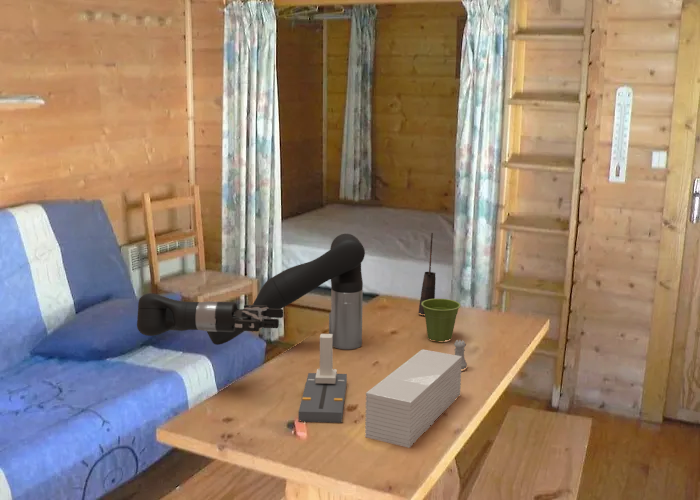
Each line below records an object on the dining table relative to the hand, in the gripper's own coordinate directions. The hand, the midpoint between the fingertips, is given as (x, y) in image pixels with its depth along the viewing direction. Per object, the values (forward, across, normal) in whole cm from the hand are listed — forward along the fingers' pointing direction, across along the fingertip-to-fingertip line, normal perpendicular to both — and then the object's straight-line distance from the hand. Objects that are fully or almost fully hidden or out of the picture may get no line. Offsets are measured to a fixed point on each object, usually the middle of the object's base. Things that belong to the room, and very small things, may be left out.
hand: (280, 318), depth 192 cm
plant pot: (+43, -42, -19) cm, 63 cm away
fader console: (+12, +6, -19) cm, 23 cm away
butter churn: (+40, -66, -19) cm, 80 cm away
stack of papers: (+34, +13, -19) cm, 41 cm away
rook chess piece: (+47, -18, -19) cm, 53 cm away
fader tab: (+11, 0, -16) cm, 20 cm away
